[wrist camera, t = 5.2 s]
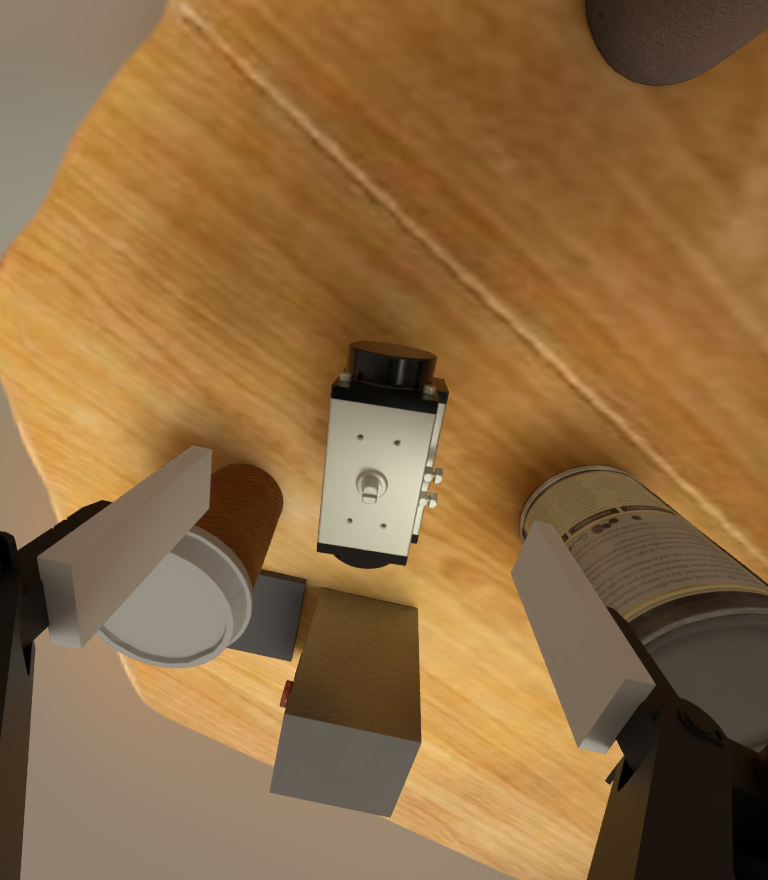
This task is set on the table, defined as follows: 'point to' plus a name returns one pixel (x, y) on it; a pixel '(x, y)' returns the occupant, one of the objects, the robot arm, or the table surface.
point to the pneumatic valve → (380, 453)
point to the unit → (352, 706)
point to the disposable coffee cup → (202, 577)
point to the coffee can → (668, 591)
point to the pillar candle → (672, 35)
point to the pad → (273, 616)
